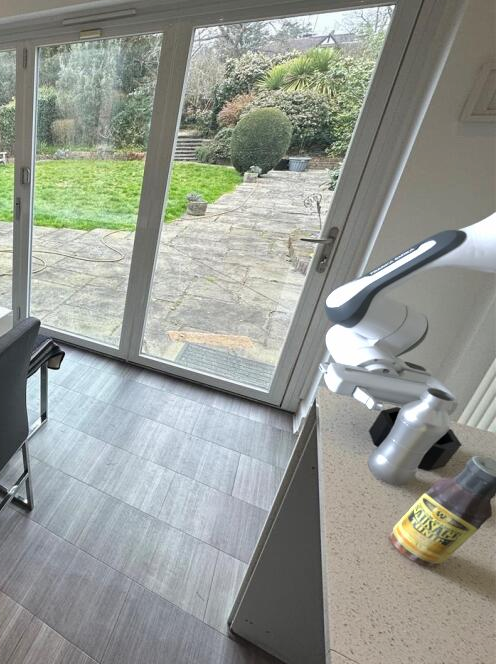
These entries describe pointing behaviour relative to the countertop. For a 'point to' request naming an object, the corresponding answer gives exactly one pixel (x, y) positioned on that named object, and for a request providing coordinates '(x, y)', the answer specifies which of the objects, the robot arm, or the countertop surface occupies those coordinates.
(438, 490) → the sauce bottle
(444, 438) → the bowl
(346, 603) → the countertop surface
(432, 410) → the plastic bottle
